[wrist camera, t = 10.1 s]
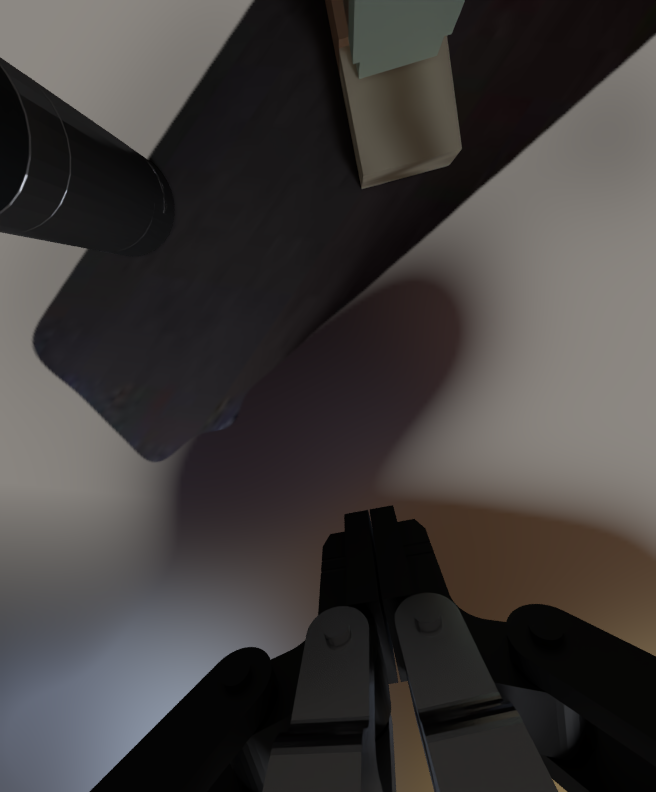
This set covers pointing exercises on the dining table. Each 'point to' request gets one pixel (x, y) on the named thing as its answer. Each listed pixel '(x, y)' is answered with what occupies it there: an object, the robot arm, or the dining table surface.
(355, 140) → the beige open box
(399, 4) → the green rectangular slab
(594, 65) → the dining table surface
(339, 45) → the cup
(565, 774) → the robot arm
